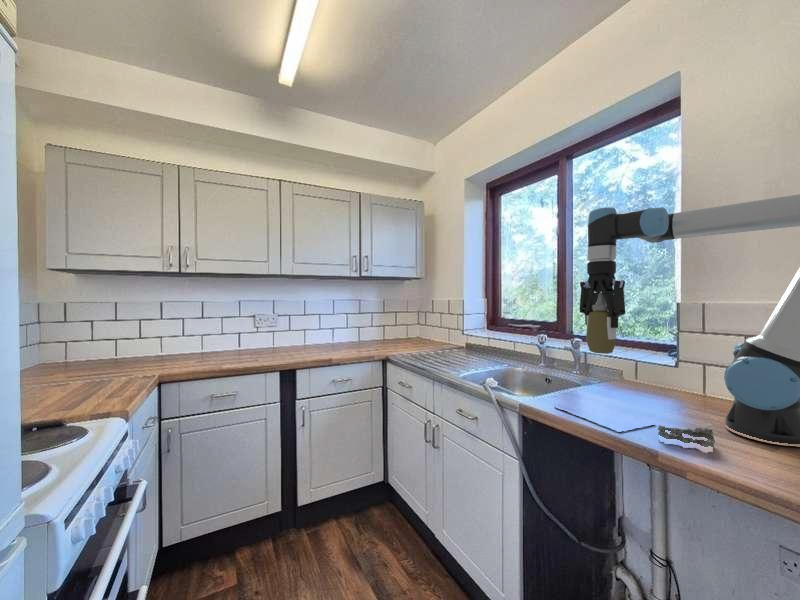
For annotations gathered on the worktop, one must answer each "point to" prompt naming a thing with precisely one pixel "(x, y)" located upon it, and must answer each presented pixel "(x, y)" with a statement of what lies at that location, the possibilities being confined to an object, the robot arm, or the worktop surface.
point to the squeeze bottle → (599, 328)
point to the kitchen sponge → (698, 432)
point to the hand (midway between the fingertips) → (600, 337)
